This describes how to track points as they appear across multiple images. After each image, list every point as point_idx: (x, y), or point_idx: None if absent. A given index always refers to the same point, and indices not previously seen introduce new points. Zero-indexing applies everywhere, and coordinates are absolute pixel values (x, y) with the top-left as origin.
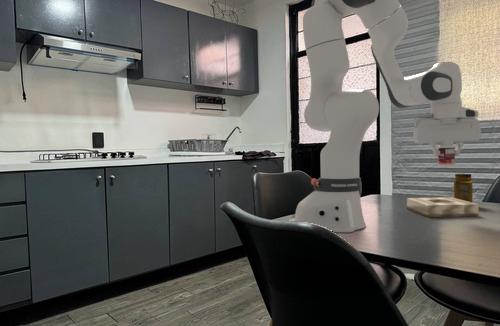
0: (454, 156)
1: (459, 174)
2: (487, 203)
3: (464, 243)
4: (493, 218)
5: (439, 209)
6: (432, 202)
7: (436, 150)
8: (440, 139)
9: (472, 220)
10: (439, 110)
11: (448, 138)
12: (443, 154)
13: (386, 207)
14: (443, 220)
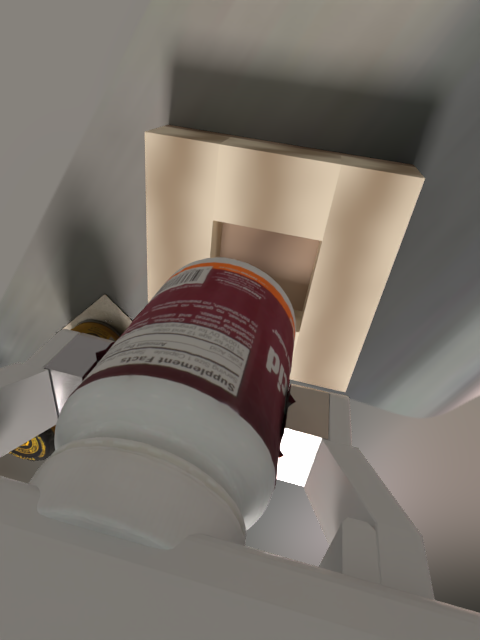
0: (140, 314)
1: (40, 434)
2: (7, 345)
3: None
4: (134, 52)
5: (353, 162)
6: (326, 253)
7: (342, 447)
8: (297, 614)
9: (262, 20)
10: None
11: (92, 578)
12: (268, 362)
13: (407, 404)
14: (407, 55)
